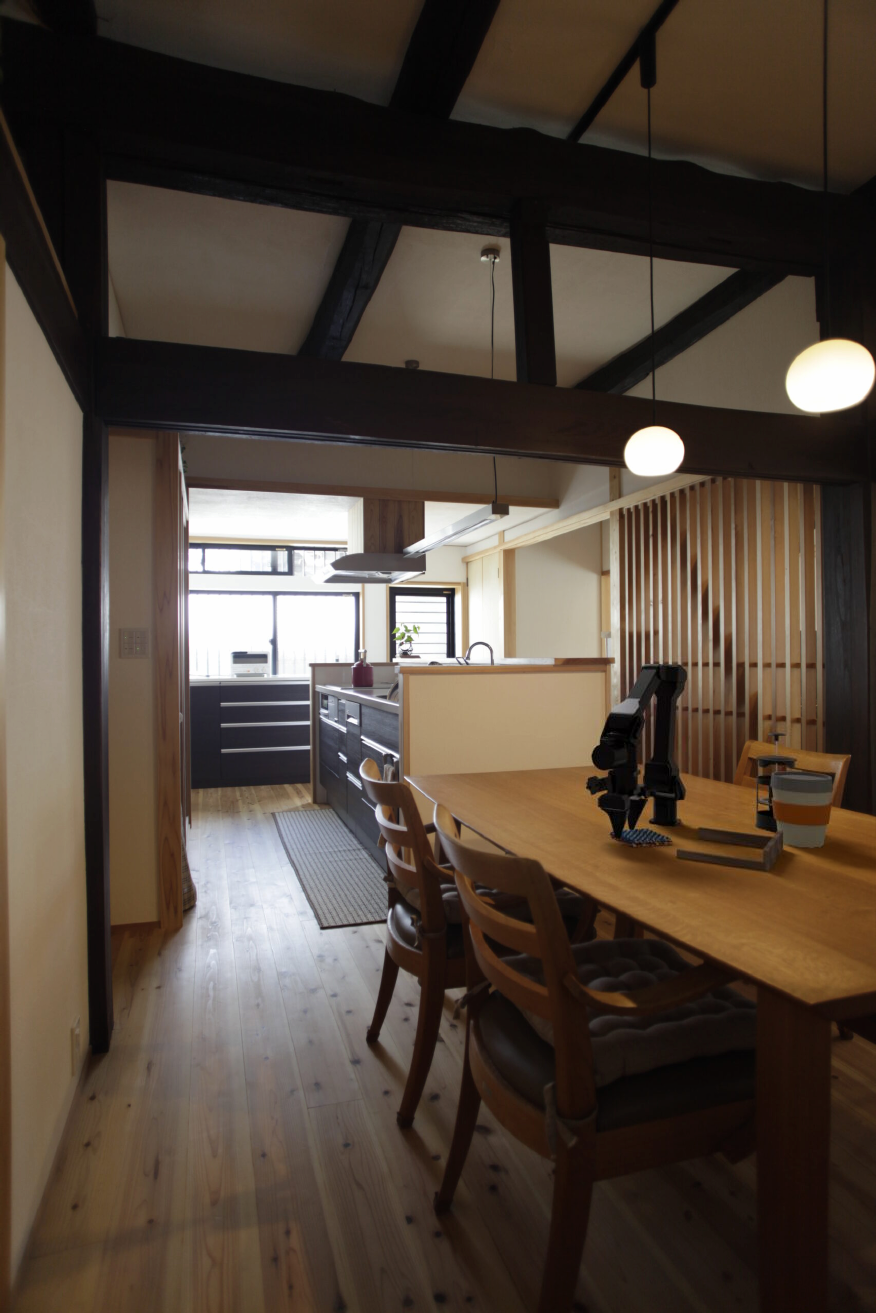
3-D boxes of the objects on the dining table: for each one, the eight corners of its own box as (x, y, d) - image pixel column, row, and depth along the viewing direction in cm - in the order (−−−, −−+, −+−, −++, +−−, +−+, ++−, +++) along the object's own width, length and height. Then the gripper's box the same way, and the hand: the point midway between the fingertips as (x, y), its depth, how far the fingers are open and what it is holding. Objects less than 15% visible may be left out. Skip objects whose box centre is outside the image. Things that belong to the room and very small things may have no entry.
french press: (801, 834, 170) (802, 735, 170) (758, 831, 172) (758, 734, 172) (793, 823, 181) (793, 730, 181) (752, 820, 184) (752, 729, 184)
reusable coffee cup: (782, 832, 171) (782, 769, 171) (841, 842, 162) (841, 775, 162) (761, 842, 162) (761, 775, 162) (821, 853, 153) (821, 782, 153)
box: (699, 837, 166) (699, 820, 166) (783, 849, 156) (783, 830, 156) (676, 857, 150) (676, 837, 150) (768, 871, 140) (768, 850, 140)
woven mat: (674, 847, 160) (674, 837, 160) (632, 850, 157) (632, 841, 157) (648, 835, 170) (648, 826, 170) (607, 838, 167) (607, 829, 167)
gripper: (605, 757, 178) (605, 821, 178) (575, 767, 162) (575, 837, 162) (651, 761, 172) (650, 827, 172) (624, 772, 156) (624, 844, 156)
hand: (624, 833), depth 166 cm, fingers open, 9 cm apart
